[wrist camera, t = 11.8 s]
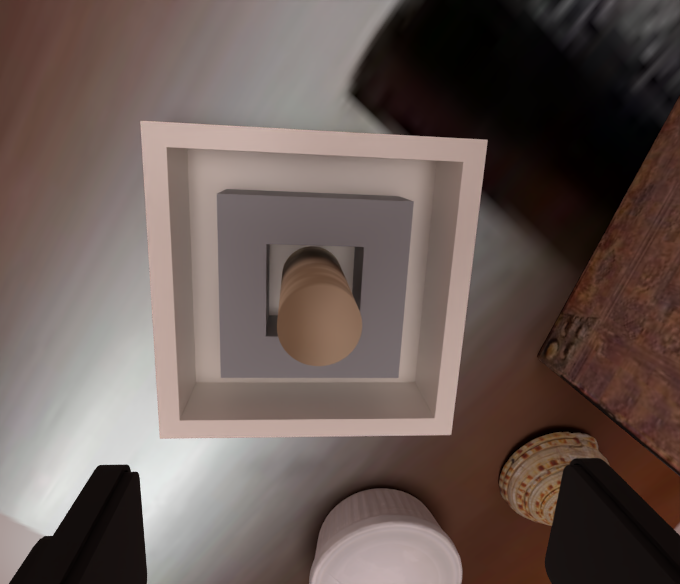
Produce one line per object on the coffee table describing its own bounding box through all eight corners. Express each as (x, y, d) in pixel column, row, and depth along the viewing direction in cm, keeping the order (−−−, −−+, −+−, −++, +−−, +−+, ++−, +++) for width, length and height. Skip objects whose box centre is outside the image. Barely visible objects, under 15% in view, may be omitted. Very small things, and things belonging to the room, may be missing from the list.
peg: (343, 247, 32) (364, 286, 22) (340, 304, 33) (359, 366, 23) (282, 245, 31) (276, 284, 22) (281, 303, 32) (276, 366, 23)
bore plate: (398, 196, 31) (413, 201, 27) (386, 352, 34) (398, 377, 30) (226, 189, 30) (216, 193, 26) (229, 351, 33) (220, 377, 29)
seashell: (637, 455, 37) (608, 558, 36) (582, 440, 43) (554, 528, 41) (555, 416, 35) (521, 522, 34) (509, 405, 41) (477, 496, 39)
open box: (451, 143, 31) (487, 139, 26) (425, 390, 36) (451, 434, 30) (170, 127, 29) (140, 120, 24) (182, 391, 34) (159, 438, 29)
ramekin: (292, 575, 40) (292, 635, 35) (329, 462, 37) (334, 510, 32) (416, 594, 42) (433, 654, 37) (459, 488, 39) (484, 537, 34)
